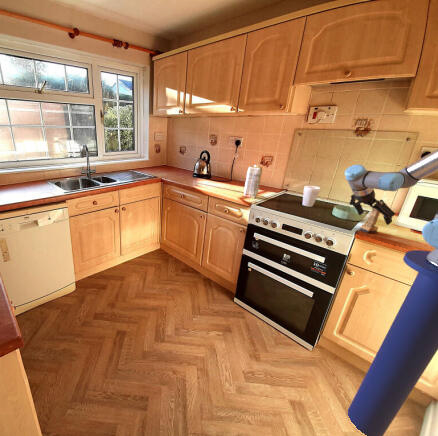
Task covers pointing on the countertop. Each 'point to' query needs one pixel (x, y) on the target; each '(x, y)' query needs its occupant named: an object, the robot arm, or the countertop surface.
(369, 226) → the dish brush
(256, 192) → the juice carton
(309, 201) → the foam cup
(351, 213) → the bowl
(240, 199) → the countertop surface
